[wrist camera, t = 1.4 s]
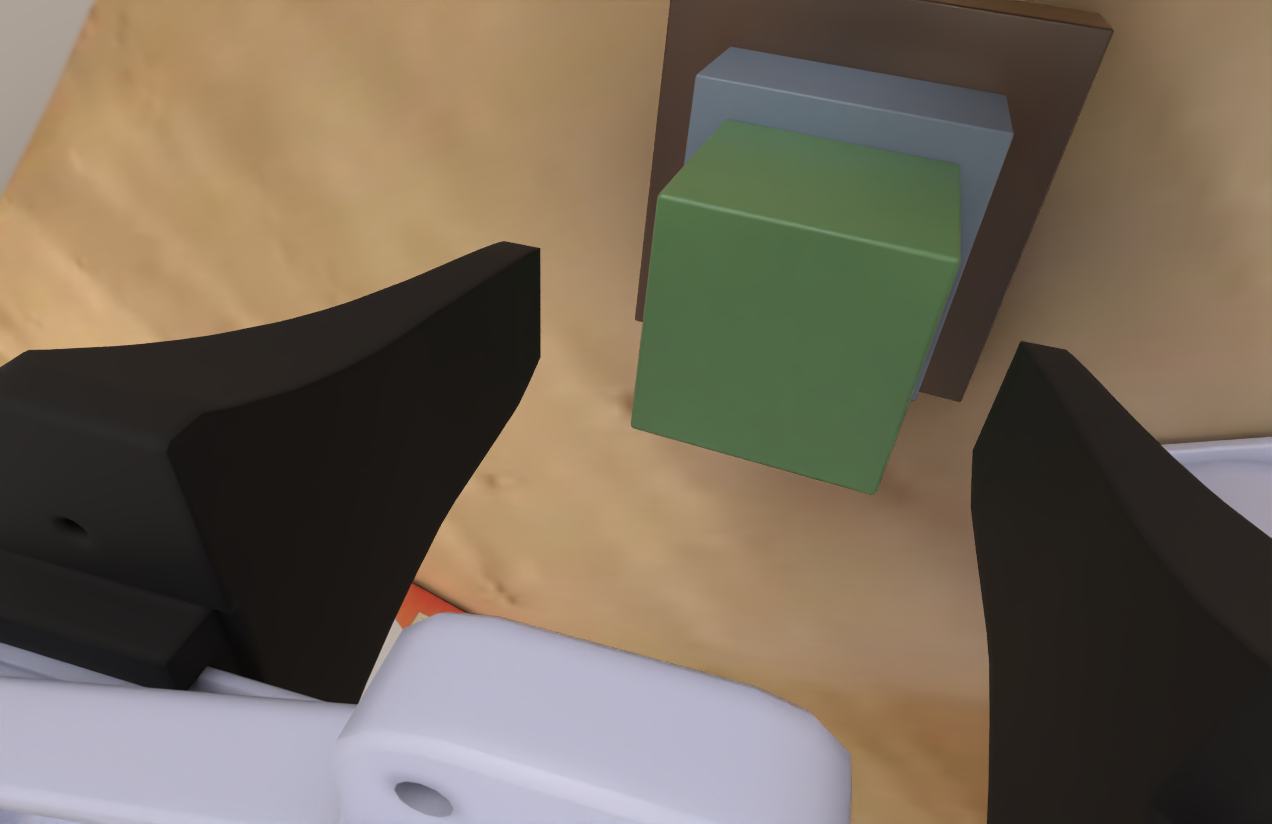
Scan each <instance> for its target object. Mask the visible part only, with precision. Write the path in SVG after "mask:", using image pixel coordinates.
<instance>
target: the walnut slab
mask: <svg viewBox="0 0 1272 824" xmlns="http://www.w3.org/2000/svg"><path fill="white" fill-rule="evenodd" d="M1113 32H1114V30H1113V29H1112V27H1111V26H1110V25H1109V24H1108V23H1107V22H1106V21H1105V20H1104V18H1103V17H1102V16H1101V15H1100V14H1097V13H1090V12H1084V11H1078V10H1071V9H1065V8H1058V7H1052V6H1045V5H1039V4H1032V3H1026V2H1019V1H1013V0H670V9H669V18H668V27H667V36H666V45H665V54H664V63H663V71H662V80H661V89H660V98H659V107H658V116H657V125H656V134H655V143H654V152H653V161H652V170H651V179H650V188H649V197H648V206H647V215H646V224H645V233H644V242H643V251H642V260H641V269H640V278H639V287H638V296H637V305H636V314H635V320H637V321H641V322H643V316H644V307H645V299H646V290H647V282H648V273H649V265H650V257H651V248H652V240H653V231H654V223H655V214H656V206H657V197H658V195H659V193H660V192H661V191H662V190H663V189H664V188H665V187H666V185H667V184H668V183H669V182H670V181H671V180H672V179H673V178H674V176H675V175H676V174H677V173H678V172H679V171H680V170H681V169H682V167H683V166H684V161H685V153H686V146H687V138H688V131H689V124H690V116H691V109H692V101H693V94H694V87H695V79H696V75H697V74H698V73H699V72H701V71H702V70H703V69H704V68H705V67H707V66H708V65H709V64H710V63H711V62H713V61H714V60H715V59H716V58H717V57H719V56H720V55H721V54H722V53H723V52H725V51H726V50H727V49H728V48H729V47H736V48H741V49H747V50H753V51H758V52H764V53H770V54H775V55H781V56H787V57H792V58H798V59H804V60H809V61H815V62H821V63H826V64H832V65H837V66H843V67H849V68H854V69H860V70H866V71H871V72H877V73H883V74H888V75H894V76H900V77H905V78H911V79H917V80H922V81H928V82H934V83H939V84H945V85H951V86H956V87H962V88H968V89H973V90H979V91H985V92H990V93H996V94H1001V95H1005V96H1006V98H1007V103H1008V108H1009V113H1010V118H1011V123H1012V129H1013V135H1014V136H1013V138H1012V141H1011V144H1010V146H1009V149H1008V152H1007V154H1006V157H1005V160H1004V163H1003V165H1002V168H1001V171H1000V173H999V176H998V179H997V181H996V184H995V187H994V190H993V192H992V195H991V198H990V200H989V203H988V206H987V208H986V211H985V214H984V217H983V219H982V222H981V225H980V227H979V230H978V233H977V235H976V238H975V241H974V243H973V246H972V249H971V252H970V254H969V257H968V260H967V262H966V265H965V268H964V270H963V273H962V276H961V279H960V281H959V284H958V287H957V289H956V292H955V295H954V297H953V300H952V303H951V305H950V308H949V311H948V314H947V316H946V319H945V322H944V324H943V327H942V330H941V332H940V335H939V338H938V341H937V343H936V346H935V349H934V351H933V354H932V357H931V359H930V362H929V365H928V368H927V370H926V373H925V376H924V378H923V381H922V384H921V386H920V389H919V392H922V393H926V394H930V395H934V396H938V397H942V398H946V399H950V400H954V401H958V402H961V401H962V398H963V396H964V393H965V391H966V389H967V386H968V384H969V381H970V379H971V376H972V374H973V372H974V369H975V367H976V364H977V362H978V360H979V357H980V355H981V352H982V350H983V347H984V345H985V343H986V340H987V338H988V335H989V333H990V330H991V328H992V326H993V323H994V321H995V318H996V316H997V313H998V311H999V309H1000V306H1001V304H1002V301H1003V299H1004V296H1005V294H1006V292H1007V289H1008V287H1009V284H1010V282H1011V280H1012V277H1013V275H1014V272H1015V270H1016V267H1017V265H1018V263H1019V260H1020V258H1021V255H1022V253H1023V250H1024V248H1025V246H1026V243H1027V241H1028V238H1029V236H1030V233H1031V231H1032V229H1033V226H1034V224H1035V221H1036V219H1037V216H1038V214H1039V212H1040V209H1041V207H1042V204H1043V202H1044V200H1045V197H1046V195H1047V192H1048V190H1049V187H1050V185H1051V183H1052V180H1053V178H1054V175H1055V173H1056V170H1057V168H1058V166H1059V163H1060V161H1061V158H1062V156H1063V153H1064V151H1065V149H1066V146H1067V144H1068V141H1069V139H1070V136H1071V134H1072V132H1073V129H1074V127H1075V124H1076V122H1077V119H1078V117H1079V115H1080V112H1081V110H1082V107H1083V105H1084V103H1085V100H1086V98H1087V95H1088V93H1089V90H1090V88H1091V86H1092V83H1093V81H1094V78H1095V76H1096V73H1097V71H1098V69H1099V66H1100V64H1101V61H1102V59H1103V56H1104V54H1105V52H1106V49H1107V47H1108V44H1109V42H1110V39H1111V37H1112V35H1113Z"/></svg>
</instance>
